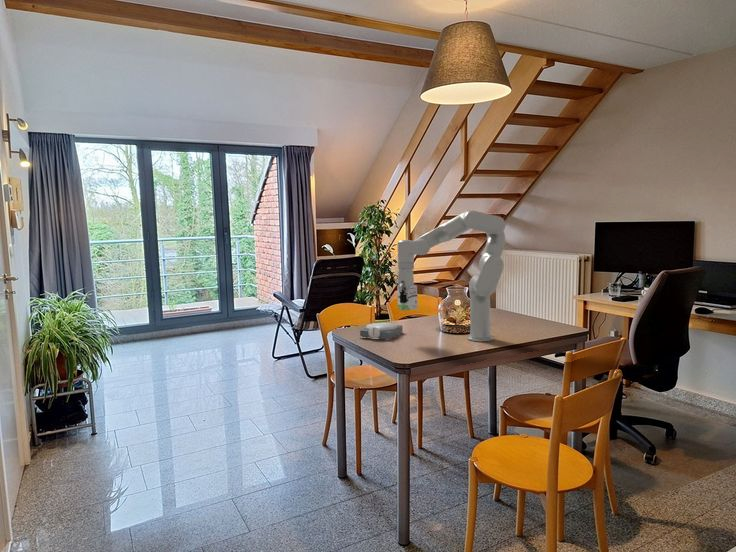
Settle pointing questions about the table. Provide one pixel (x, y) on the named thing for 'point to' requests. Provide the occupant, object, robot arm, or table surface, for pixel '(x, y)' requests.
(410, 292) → the ink box
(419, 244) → the robot arm
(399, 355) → the table surface
